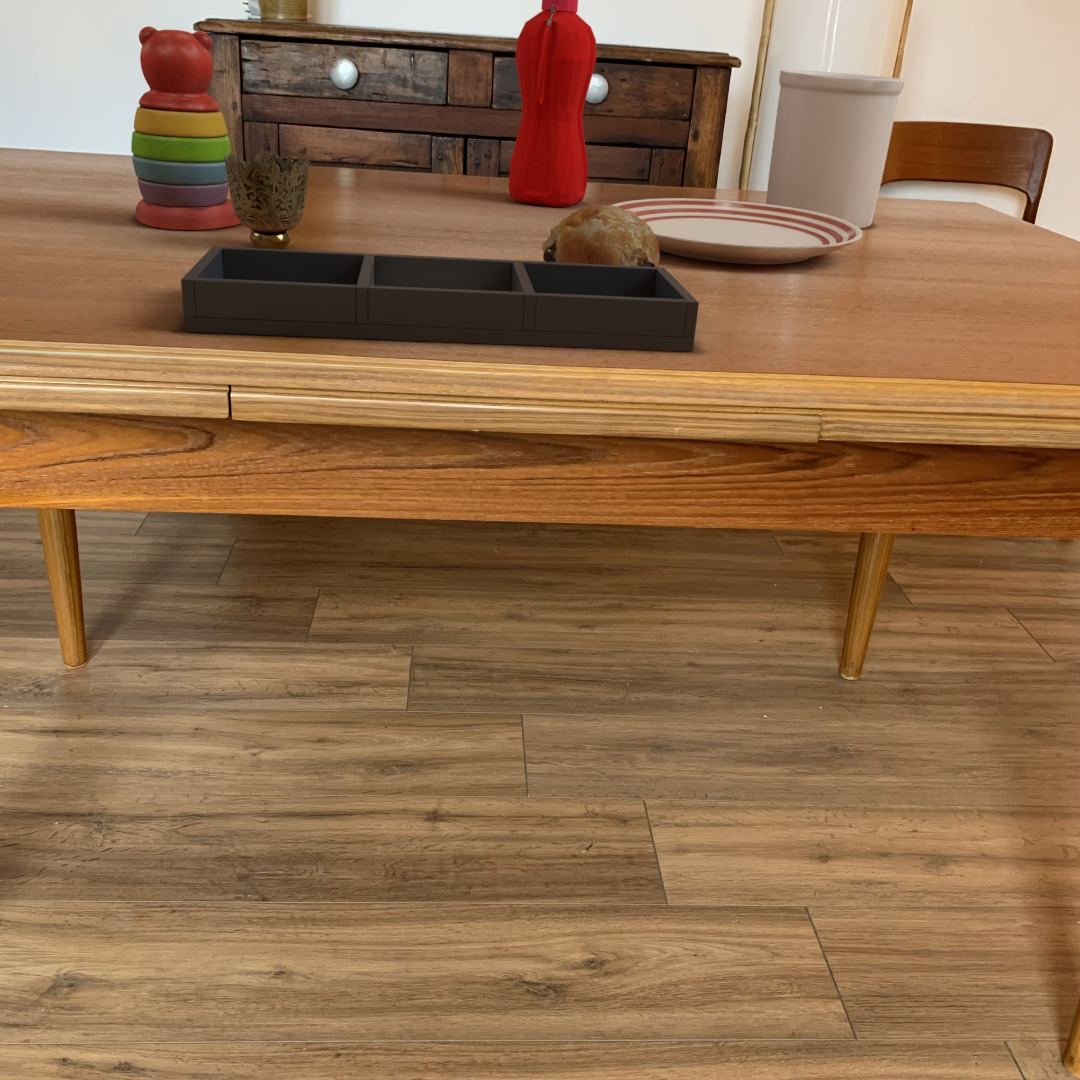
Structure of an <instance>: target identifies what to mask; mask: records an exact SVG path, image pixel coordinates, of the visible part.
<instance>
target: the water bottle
mask: <svg viewBox="0 0 1080 1080" xmlns="http://www.w3.org/2000/svg"><path fill="white" fill-rule="evenodd" d="M578 8H579V0H541V8H540V10H541V11H540V12H538V13H537V14H535V15H533V16H532V17H531V18H530V19H528V20H527V21H525V22H524V24H523V26H522V29H521V31H520V33H519V35H518V37H517V42H516V51H515V63H516V71H517V76H518V77H517V78H518V83H519V89H520V90H519V91H520V97H521V120H520V124H519V127H518V131H517V135H516V139H515V142H514V147H513V151H512V153H511V157H510V161H509V173H508V192H509V196H510V197H511V199H512V200H513V201H515V202H518V203H523V204H529V205H537V206H538V205H539V206H548V207H559V208H564V207H570V206H572V205H575V204H578V203H580V202H583V200H584V198H585V196H586V191H587V189H588V188H587V187H588V175H589V174H588V173H589V165H588V164H589V163H588V155H587V148H586V140H585V133H584V132H585V131H584V126H583V125H584V123H583V117H584V111H585V104H586V99H587V96H588V92H589V88H590V85H591V81H592V77H593V73H594V69H595V66H596V62H597V39H596V36H595V34H594V31H593V29H592V26H591V25H590V24H589V23H587V22H586V21H585V20H584V19H583V18H582V17H580V16H579V14H578V10H579V9H578Z"/></svg>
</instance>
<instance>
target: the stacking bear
mask: <svg viewBox="0 0 1080 1080" xmlns="http://www.w3.org/2000/svg"><path fill="white" fill-rule="evenodd" d="M138 41H139V43H140V44H141V48H140V52H139V53H140V55H139V62H140V68H141V73H142V75H143V77H144V80H145V82H146V84H147V85H148V87H149V90H148V91H146V92H144V93H143V94H142V96H141V97H140V98H139V100H138V104H139V106H138V107H137V108H136V111H135V114H134V119H133V120H134V121H133V129H134V130H133V131H132V132H131V133H132V134H131V148H130V151H131V153H132V156H131V159H132V165H133V169H134V173H135V176H136V178H137V185H138V188H139V192H140V195H141V197H142V199H140V201H138V202H137V204H136V206H135V219H136V220H137V221H138V222H140V223H141V224H143V225H145V226H148V227H152V228H157V229H165V230H177V231H205V230H215V229H221V228H222V229H223V228H224V229H225V228H229V227H233V226H238V225H239V224H242V223H241V222H240V221H239V219H238V218H237V216H236V214H235V212H234V209H233V205H232V201H231V198H228V192H229V184H228V178H227V172H226V165H225V161H224V157H225V155H226V156H227V159H228V155H229V154H230V153H232V154H233V151H232V145H231V140H230V137H229V136H228V129H227V125H226V120H225V117H224V114H223V113H222V112H221V111H220V105H219V103H217V101H216V99H214V97H212V96H211V95H209V94H208V93H207V91H208V90H209V88H210V86H211V83H212V81H213V80H212V79H213V74H214V60H213V57H212V53H211V49H212V47H213V41H212V38H211V36H210V35H209V34H208V33H207V32H206V31H203V30H197V31H195V32H193V33H192V32H189V31H186V30H180V29H160V30H158V29H156V28H155V27H153V26H145V27H143V28H141V29H140V31H139V32H138Z"/></svg>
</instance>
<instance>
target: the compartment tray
mask: <svg viewBox="0 0 1080 1080" xmlns="http://www.w3.org/2000/svg"><path fill="white" fill-rule="evenodd" d="M180 286H181V302H182V314H183V328H184V332H185V333H201V334H203V333H204V334H225V335H227V334H229V335H249V336H250V335H254V336H257V335H259V336H278V337H279V336H281V337H307V338H330V339H333V338H334V339H354V340H355V339H356V340H357V339H358V340H380V341H383V340H384V341H404V342H405V341H408V342H429V343H430V342H433V343H455V344H456V343H458V344H460V343H461V344H485V345H486V344H487V345H509V346H510V345H511V346H514V345H515V346H538V347H559V348H560V347H561V348H562V347H563V348H588V349H589V348H590V349H610V350H611V349H613V350H614V349H615V350H637V351H638V350H640V351H641V350H642V351H664V352H667V351H669V352H689V353H690V352H691V353H692V352H693V351H694V345H695V337H696V331H697V330H696V329H697V322H698V314H699V305H700V302H699V301H698V300H697V299H696V298H695V297H694V296H693V295H692V294H691V293H690V292H689V291H688V290H687V288H686V287H684V286H683V285H682V283H681V282H679V281H678V280H677V278H675V277H674V276H673V275H672V274H671V273H670V272H669V271H668V269H666V267H664V266H663V267H662V266H658V267H644V266H623V265H602V264H581V263H560V262H545V261H536V260H515V259H512V260H511V259H493V258H491V259H490V258H474V257H455V256H454V257H453V256H435V255H434V256H433V255H432V256H431V255H430V256H429V255H408V254H389V253H370V252H369V253H368V252H349V251H347V252H346V251H330V250H329V251H328V250H327V251H326V250H309V249H308V250H305V249H286V248H283V249H267V248H257V247H245V246H242V247H240V246H223V245H212V246H211V247H210V249H208V251H207V252H205V254H204V255H203V256H202V257H201V258H200V259H198V261H197V262H196V263H195V264H194V265H193V266H192V267H191V268H190V269H189V271H188V272H187V273H185V275H184V276H183V277H182V278H181V279H180Z"/></svg>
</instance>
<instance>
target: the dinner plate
mask: <svg viewBox="0 0 1080 1080" xmlns="http://www.w3.org/2000/svg"><path fill="white" fill-rule="evenodd" d="M611 205H612V206H616V207H619V208H621V209H623V210H625V211H626V210H629V211H633V212H634V213H636V214H637V217H639V218H640V219H642V220H644V221H645V222H646V223H647V224H648V225H649V226H650V228H651V230H652V231H653V233H654V235H655V236H656V239H657V242H658V245H659V251H661V252H664V253H667V254H671V255H675V256H680V257H684V258H688V259H695V260H701V261H707V262H708V261H709V262H716V263H717V262H718V263H725V264H738V265H739V264H741V265H759V266H760V265H761V266H762V265H763V266H764V265H787V264H794V263H800V262H804V261H807V260H809V259H811V258H814V257H818V256H822V255H826V254H829V253H833V252H836V251H839V250H842V249H844V248H846V247H849V246H851V245H853V244H855V243H856V242H858V241H859V240H860V239H861V238H862V237H863V235H864V233H863V230H862V228H858V227H857V226H855V225H854V224H852V223H850V222H847V221H845V220H842V219H840V218H837V217H833V216H830V215H826V214H822V213H818V212H813V211H808V210H803V209H797V208H791V207H784V206H777V205H769V204H766V203H759V202H752V201H751V202H750V201H741V200H740V201H739V200H726V199H714V198H713V199H711V198H710V199H709V198H689V197H688V198H686V197H685V198H684V197H674V198H673V197H664V198H643V199H635V200H627V201H622V202H617V203H614V204H611Z"/></svg>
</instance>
